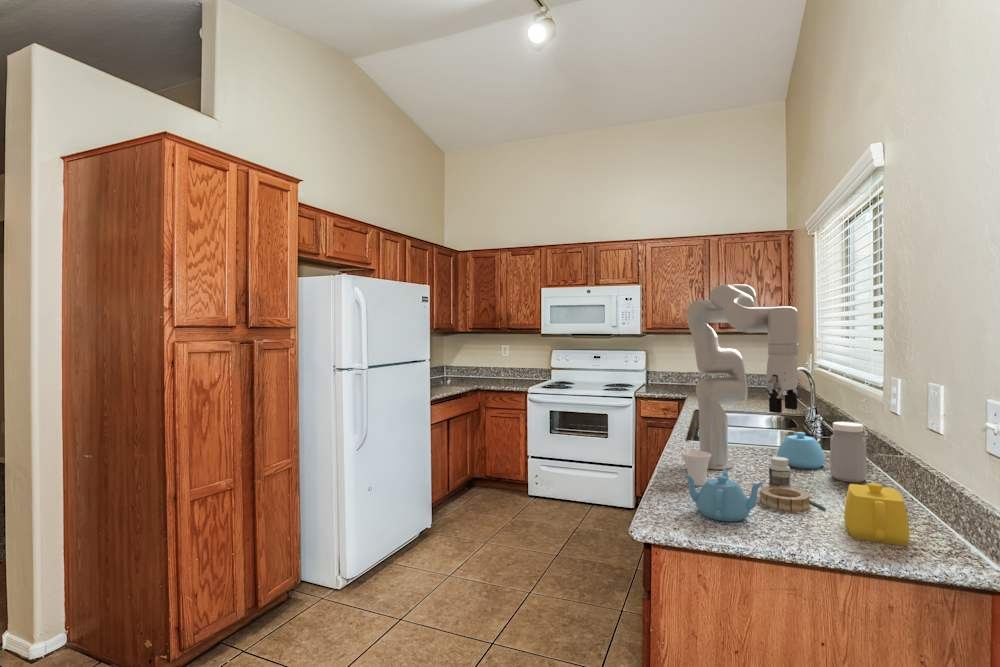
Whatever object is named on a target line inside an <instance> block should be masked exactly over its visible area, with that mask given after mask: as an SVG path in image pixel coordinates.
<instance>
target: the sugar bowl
mask: <svg viewBox="0 0 1000 667" xmlns="http://www.w3.org/2000/svg"><path fill="white" fill-rule="evenodd" d="M777 450H778V451H777V454H776V455H777V456H776V457H784V458H787V459H788V461H789V463H788V466H789V467H790V468H792V467H793V468H798V469H808V470H809V469H819V468H822V467H823V465H825V463H826V457H825V453H824V450H823V449H822V446H821V445H820V444H819V443H818V441H817V440H816V438H815V437H813V436H807V435H806V433H805V432H803V431H797V432H795V435H794V434H793V435H792V434H791V435H788V436H786V437H785V438H784V439H783V441H782V442H781V444H780V445H779V447H778V449H777Z"/></svg>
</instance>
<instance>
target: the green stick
mask: <svg viewBox="0 0 1000 667" xmlns="http://www.w3.org/2000/svg"><path fill="white" fill-rule="evenodd" d="M809 504H812V505H813V506H816V507H818V508H819V509H821V510H823V511H826V510H827V509H826V507H824V506H823V505H821V504H818V503H817V502H815V501H813V500H811V499H809Z"/></svg>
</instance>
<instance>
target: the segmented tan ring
mask: <svg viewBox="0 0 1000 667" xmlns="http://www.w3.org/2000/svg"><path fill="white" fill-rule="evenodd" d="M759 494H760V503H761V504H763V505H765V506H767V507H770V508H774V509H777V510H782V511H790V512H791V511H792V512H796V511H799V512H802V511H805V510H808V509H810V502H809V500H810V494H809V493H808V492H806V491H804V490H801V489H797V488H793V487H790V488H789V487H780V486H779V487H778V486H769V485H768V486H764V487H761V488H760V493H759Z"/></svg>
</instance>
